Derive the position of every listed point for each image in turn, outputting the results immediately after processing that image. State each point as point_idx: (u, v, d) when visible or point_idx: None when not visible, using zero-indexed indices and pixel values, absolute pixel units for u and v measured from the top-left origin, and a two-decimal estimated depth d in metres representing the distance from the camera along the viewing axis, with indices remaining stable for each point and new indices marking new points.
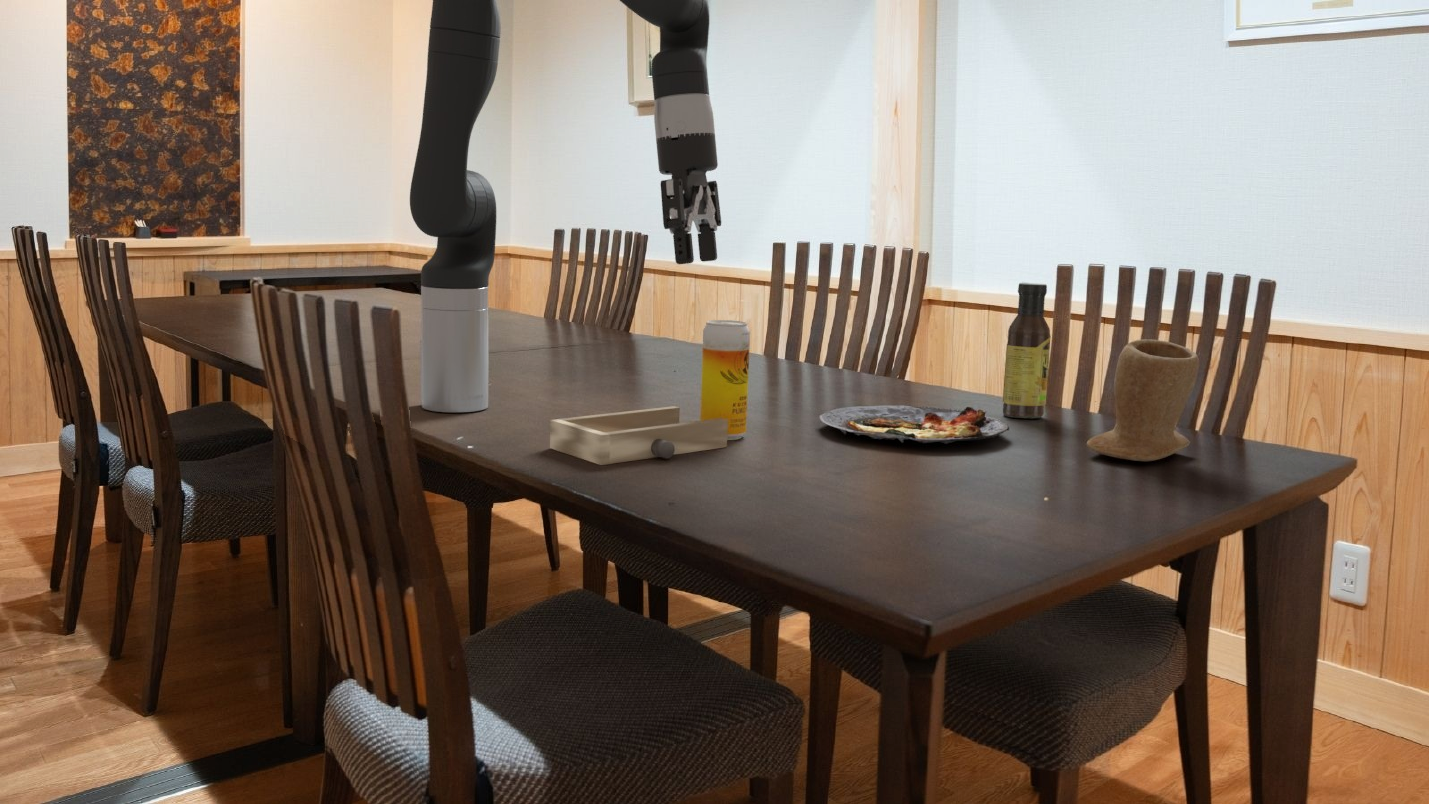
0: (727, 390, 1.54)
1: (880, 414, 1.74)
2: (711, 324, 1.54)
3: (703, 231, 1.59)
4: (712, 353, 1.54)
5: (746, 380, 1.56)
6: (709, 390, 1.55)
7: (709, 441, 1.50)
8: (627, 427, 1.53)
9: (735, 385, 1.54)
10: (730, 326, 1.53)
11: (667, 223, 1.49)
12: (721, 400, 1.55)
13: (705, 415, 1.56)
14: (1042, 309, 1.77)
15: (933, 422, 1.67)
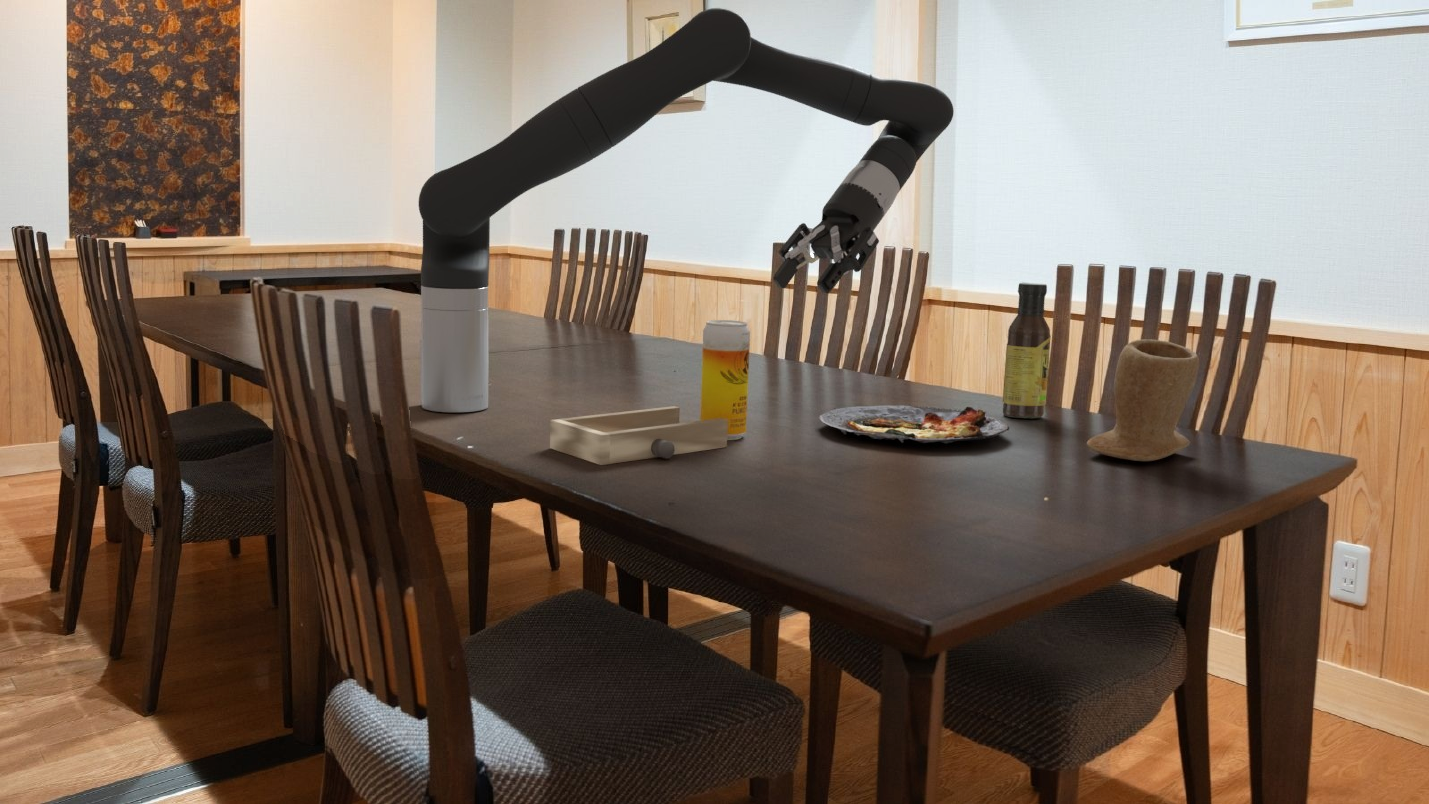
0: (727, 390, 1.54)
1: (880, 414, 1.74)
2: (711, 324, 1.54)
3: (793, 262, 1.67)
4: (712, 353, 1.54)
5: (746, 380, 1.56)
6: (709, 390, 1.55)
7: (709, 441, 1.50)
8: (627, 427, 1.53)
9: (735, 385, 1.54)
10: (730, 326, 1.53)
11: (855, 258, 1.59)
12: (721, 400, 1.55)
13: (705, 415, 1.56)
14: (1042, 309, 1.77)
15: (933, 422, 1.67)
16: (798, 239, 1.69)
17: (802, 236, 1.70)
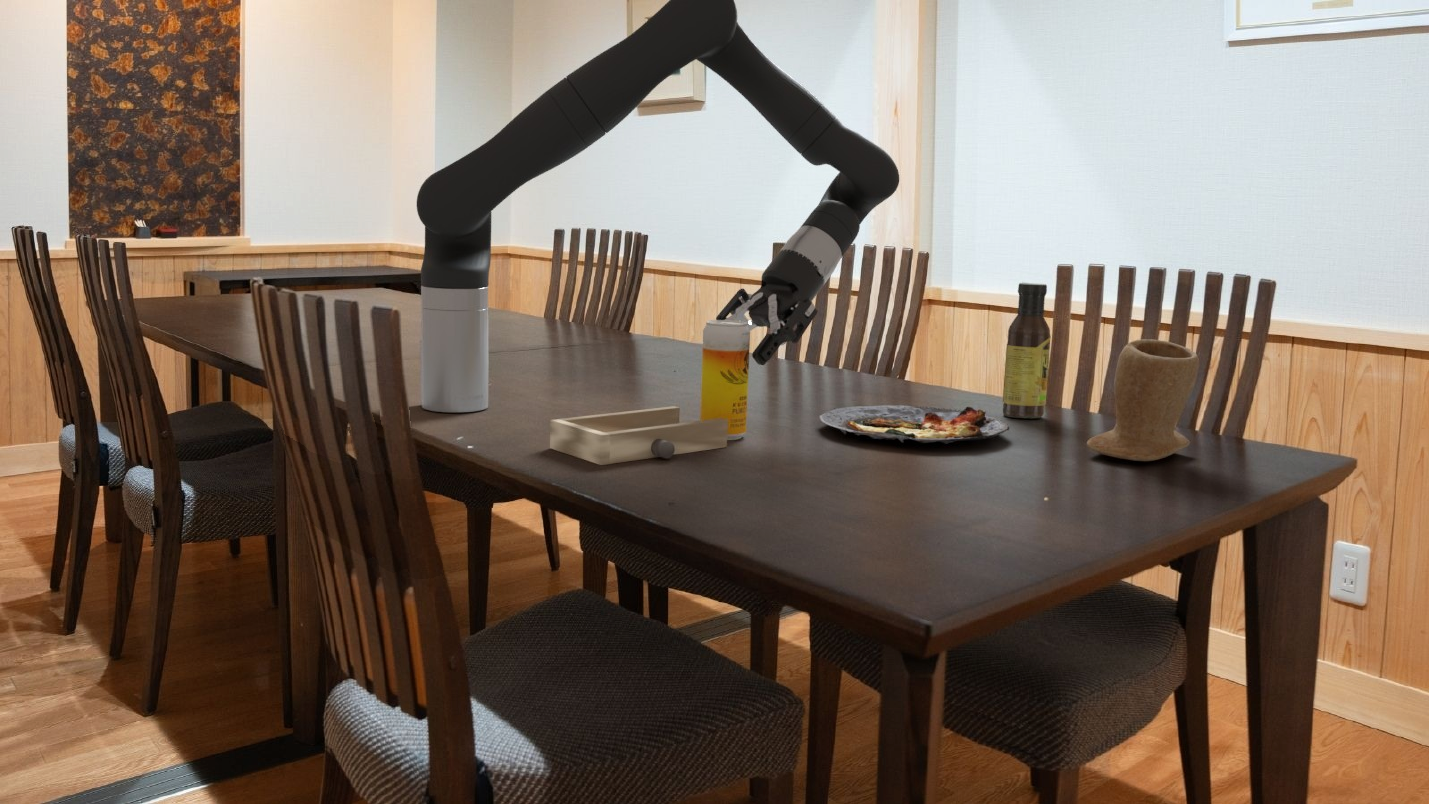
0: (727, 390, 1.54)
1: (880, 414, 1.74)
2: (711, 324, 1.54)
3: None
4: (712, 353, 1.54)
5: (746, 380, 1.56)
6: (709, 390, 1.55)
7: (709, 441, 1.50)
8: (627, 427, 1.53)
9: (735, 385, 1.54)
10: (730, 326, 1.53)
11: (791, 330, 1.54)
12: (721, 400, 1.55)
13: (705, 415, 1.56)
14: (1042, 309, 1.77)
15: (933, 422, 1.67)
16: (736, 305, 1.64)
17: (741, 302, 1.65)
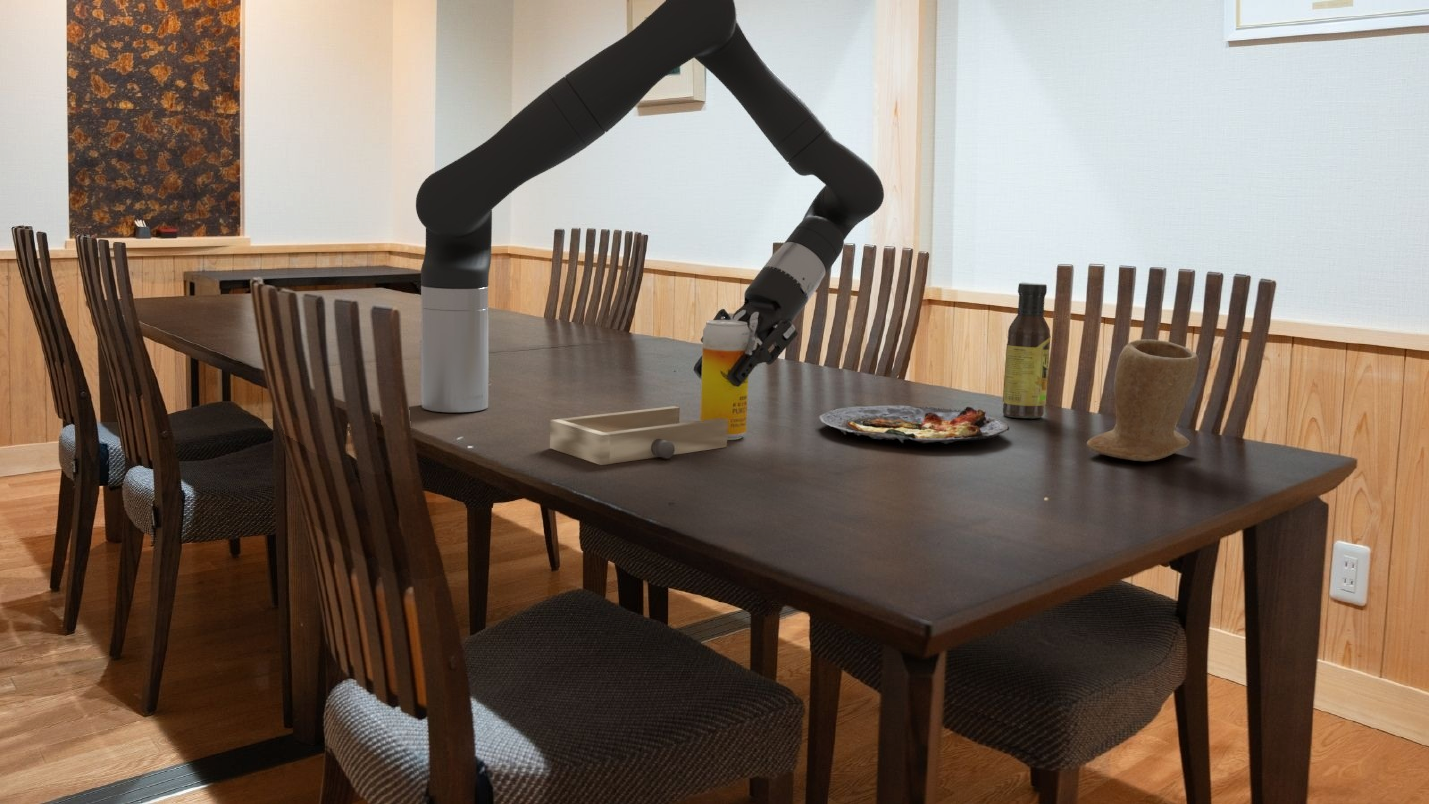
0: (727, 390, 1.54)
1: (880, 414, 1.74)
2: (711, 324, 1.54)
3: None
4: (712, 353, 1.54)
5: (746, 380, 1.56)
6: (709, 389, 1.55)
7: (709, 441, 1.50)
8: (627, 427, 1.53)
9: None
10: (730, 326, 1.53)
11: (766, 351, 1.53)
12: (721, 400, 1.55)
13: (705, 415, 1.56)
14: (1042, 309, 1.77)
15: (933, 422, 1.67)
16: None
17: None
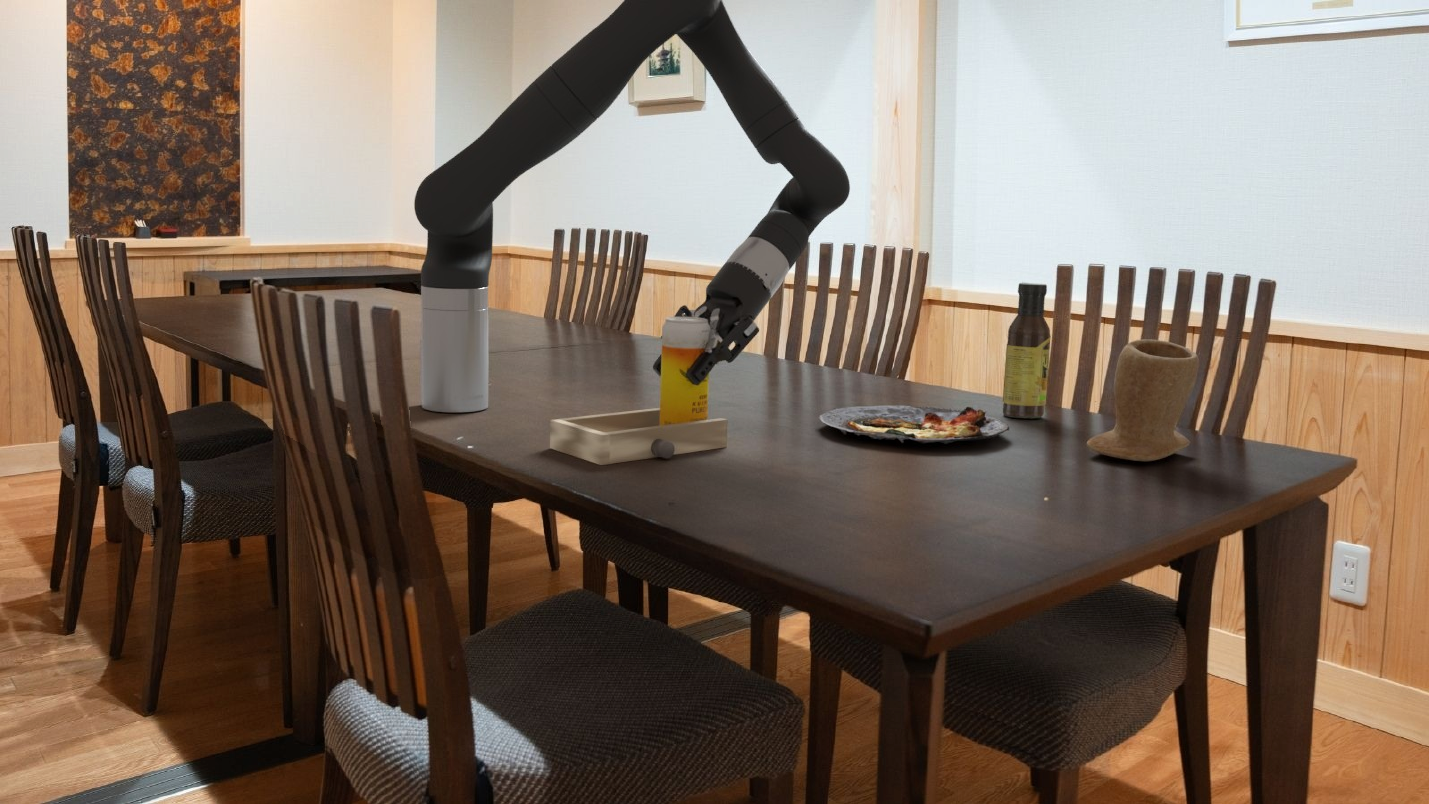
0: (687, 389, 1.50)
1: (880, 414, 1.74)
2: (670, 321, 1.50)
3: None
4: (671, 350, 1.50)
5: (706, 378, 1.52)
6: (668, 388, 1.51)
7: (709, 441, 1.50)
8: (627, 427, 1.53)
9: None
10: (689, 323, 1.49)
11: (726, 349, 1.48)
12: (680, 399, 1.50)
13: (664, 415, 1.52)
14: (1042, 309, 1.77)
15: (933, 422, 1.67)
16: None
17: None
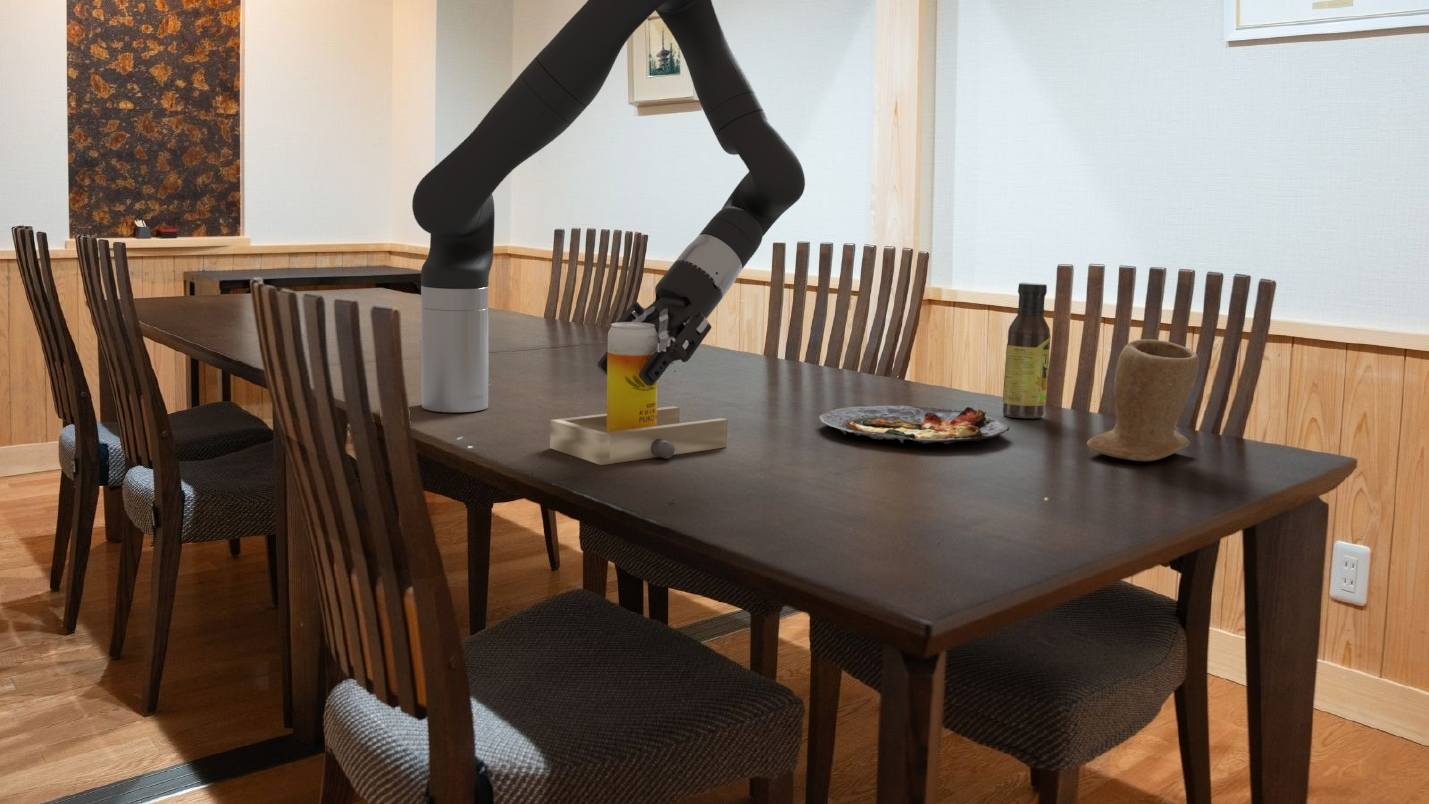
0: (633, 397, 1.45)
1: (880, 414, 1.74)
2: (615, 327, 1.45)
3: None
4: (616, 358, 1.44)
5: (654, 386, 1.46)
6: (614, 397, 1.45)
7: (709, 441, 1.50)
8: None
9: (641, 391, 1.45)
10: (635, 329, 1.44)
11: (681, 348, 1.42)
12: (626, 408, 1.45)
13: (610, 424, 1.47)
14: (1042, 309, 1.77)
15: (933, 422, 1.67)
16: (629, 320, 1.53)
17: (634, 317, 1.53)
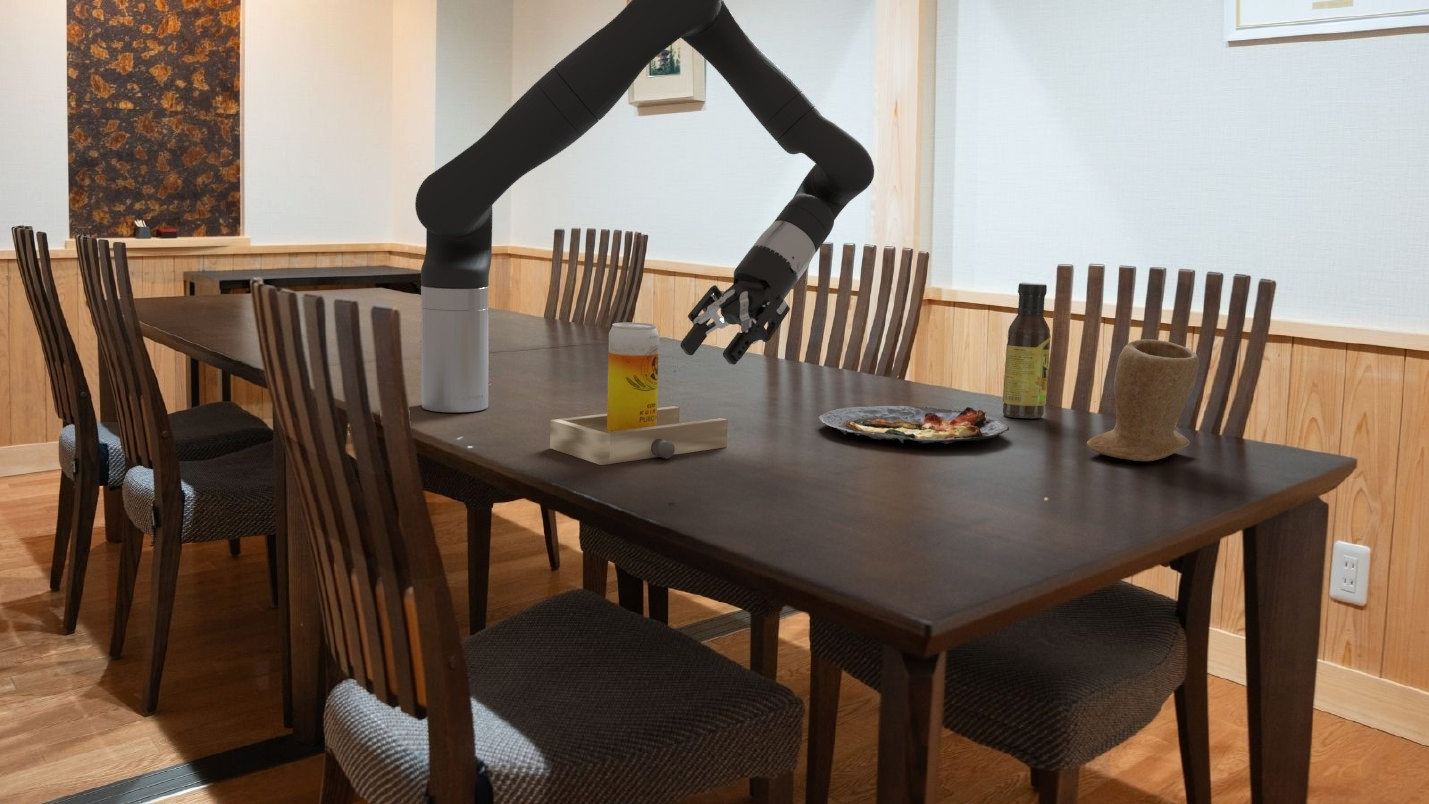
0: (634, 397, 1.45)
1: (880, 414, 1.74)
2: (616, 327, 1.45)
3: (701, 327, 1.59)
4: (617, 357, 1.45)
5: (655, 386, 1.46)
6: (614, 397, 1.46)
7: (709, 441, 1.50)
8: None
9: (642, 392, 1.45)
10: (636, 329, 1.44)
11: (762, 329, 1.51)
12: (627, 408, 1.45)
13: (611, 424, 1.47)
14: (1042, 309, 1.77)
15: (933, 422, 1.67)
16: (709, 302, 1.61)
17: (713, 300, 1.61)
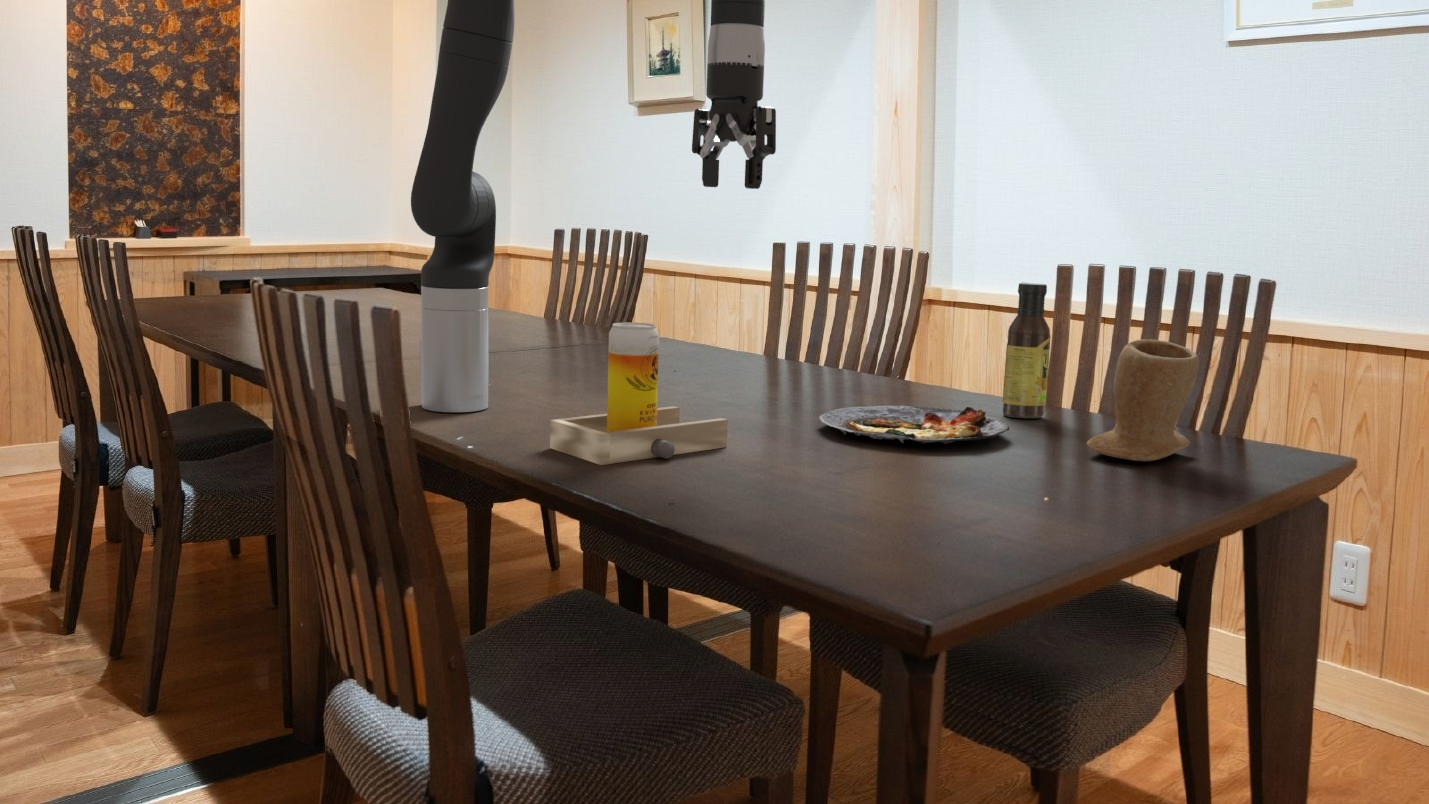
0: (634, 397, 1.45)
1: (880, 414, 1.74)
2: (616, 327, 1.45)
3: (710, 157, 1.64)
4: (617, 357, 1.45)
5: (655, 386, 1.46)
6: (614, 397, 1.46)
7: (709, 441, 1.50)
8: None
9: (642, 392, 1.45)
10: (636, 329, 1.44)
11: (765, 148, 1.55)
12: (627, 408, 1.45)
13: (611, 424, 1.47)
14: (1042, 309, 1.77)
15: (933, 422, 1.67)
16: (702, 128, 1.65)
17: (703, 123, 1.64)
